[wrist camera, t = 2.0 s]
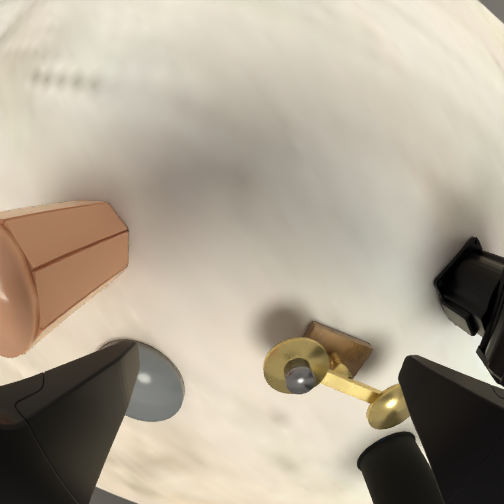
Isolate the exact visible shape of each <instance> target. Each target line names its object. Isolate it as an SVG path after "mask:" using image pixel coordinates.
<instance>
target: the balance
mask: <svg viewBox="0 0 504 504" xmlns="http://www.w3.org/2000/svg"><path fill="white" fill-rule="evenodd" d="M372 351H373V348H372V346H371V345H370V344H369V343H367V342H364V341H362V340H359V339H357V338H354V337H352V336H349V335H346V334H344V333H341V332H339V331H336V330H334V329H332V328H329V327H327V326H324V325H322V324H319V323H317V322H314V321H313V322H312V323H311V325H310V327H309V328H308V330H307V331H306V333H305V335H304V336H303V337H297V338H291V339H287V340H284V341H282V342H280V343H278V344H277V345H275V346H274V347H273V348H272V349H271V350H270V351H269V352H268V354H267V356H266V357H265V360H264V364H263V370H264V377H265V379H266V381H267V383H268V384H269V385H270V386H271V387H272V388H273V389H275V390H277V391H279V392H282V393H287V394H304V393H307V392H309V391H310V390H311V389H312V388H314V387H316V386H317V385H318V384H319V383H321V384H324V385H326V386H328V387H331V388H333V389H335V390H338V391H340V392H343V393H345V394H348V395H350V396H353V397H355V398H358V399H360V400H363V401H366V402H368V403H371V404H370V406H369V407H368V410H367V414H366V417H367V420H368V422H369V424H370V426H371V427H373V428H375V429H388V428H391V427H394V426H396V425H398V424H400V423H401V422H403V421H404V420H406V419H407V418H408V417H409V416H410V414H409V412H408V409H407V405H406V402H405V399H404V396H403V393H402V390H401V387H400V384H396V385H394V386H391V387H389V388H387V389H386V390H384V391H383V392H382V391H380V390H377V389H375V388H372V387H370V386H368V385H365V384H363V383H360V382H358V381H356V380H353V378H354V376H355V375H356V374H357V372H358V371H359V369H360V368H361V367H362V365H363V364H364V362H365V361H366V360H367V358H368V357H369V355H370V354H371V352H372Z"/></svg>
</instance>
